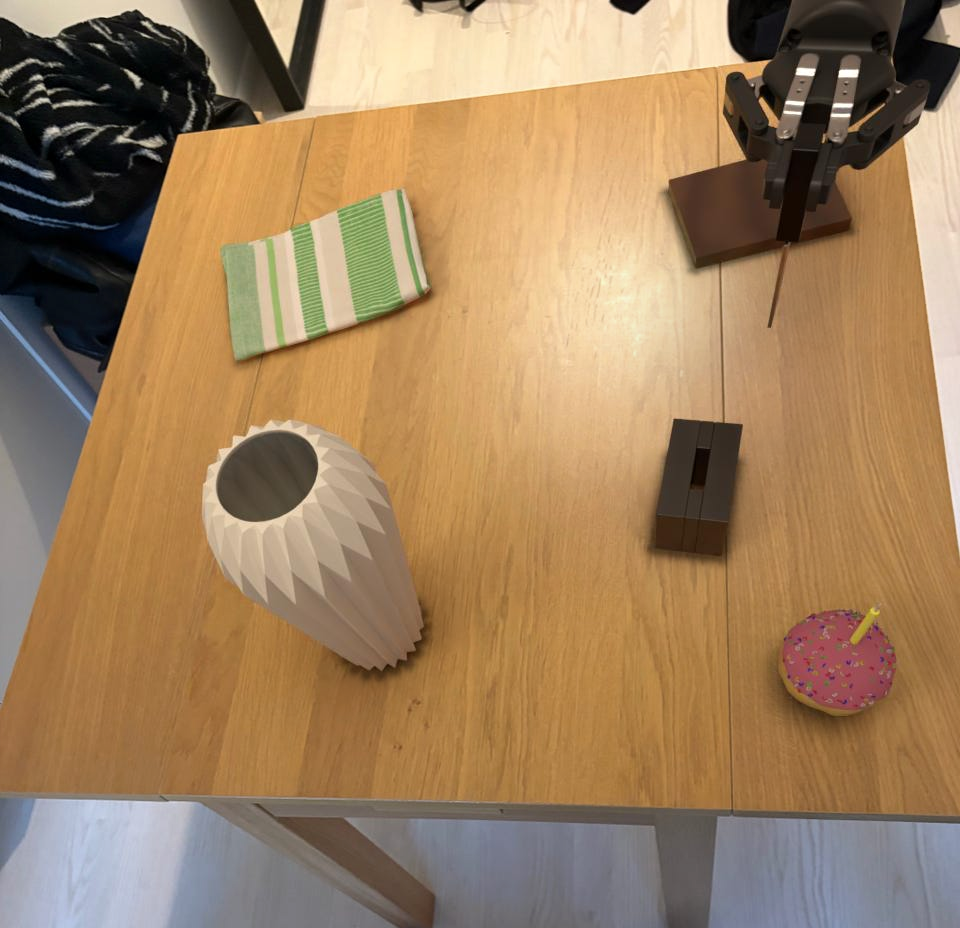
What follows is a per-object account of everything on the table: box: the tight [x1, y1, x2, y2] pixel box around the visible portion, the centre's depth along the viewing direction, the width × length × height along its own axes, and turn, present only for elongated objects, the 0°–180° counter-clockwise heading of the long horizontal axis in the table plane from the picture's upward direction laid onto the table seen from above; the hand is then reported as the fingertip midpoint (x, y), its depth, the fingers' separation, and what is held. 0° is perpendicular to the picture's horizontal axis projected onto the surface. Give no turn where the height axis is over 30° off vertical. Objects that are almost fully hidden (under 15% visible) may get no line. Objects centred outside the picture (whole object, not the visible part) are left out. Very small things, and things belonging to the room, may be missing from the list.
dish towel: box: [220, 188, 432, 362], centre depth 95 cm, size 18×23×3 cm
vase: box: [201, 418, 425, 672], centre depth 65 cm, size 13×13×26 cm
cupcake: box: [777, 602, 899, 717], centre depth 63 cm, size 9×8×12 cm
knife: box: [766, 123, 825, 329], centre depth 58 cm, size 2×3×15 cm, turn 161°
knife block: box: [654, 418, 744, 556], centre depth 74 cm, size 6×10×6 cm, turn 167°
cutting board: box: [667, 158, 853, 269], centre depth 88 cm, size 16×12×2 cm
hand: (794, 198), depth 52 cm, fingers closed on knife, 1 cm apart
